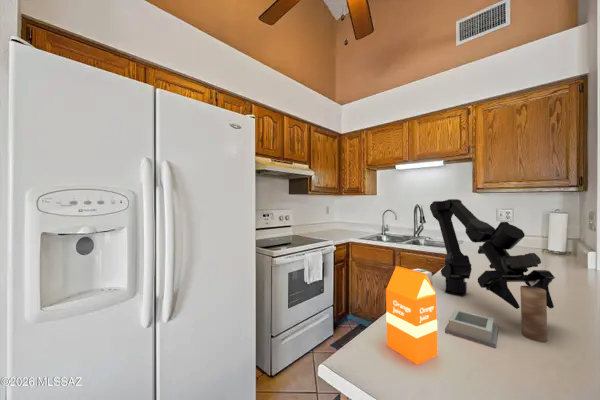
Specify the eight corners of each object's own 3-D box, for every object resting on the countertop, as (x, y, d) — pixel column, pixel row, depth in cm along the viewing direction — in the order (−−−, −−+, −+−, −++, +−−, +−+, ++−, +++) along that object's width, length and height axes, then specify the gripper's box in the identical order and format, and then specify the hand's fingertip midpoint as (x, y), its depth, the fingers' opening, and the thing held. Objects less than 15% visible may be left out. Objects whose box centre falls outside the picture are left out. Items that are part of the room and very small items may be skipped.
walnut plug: (521, 337, 64) (520, 289, 64) (521, 330, 68) (520, 284, 68) (548, 344, 61) (547, 293, 61) (546, 336, 64) (545, 288, 65)
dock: (445, 332, 67) (444, 320, 67) (452, 318, 75) (452, 307, 75) (495, 348, 59) (495, 334, 59) (497, 330, 68) (497, 318, 68)
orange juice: (417, 365, 53) (415, 276, 54) (386, 344, 61) (385, 267, 62) (438, 354, 57) (436, 271, 57) (406, 336, 65) (405, 263, 65)
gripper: (483, 243, 70) (519, 295, 58) (546, 242, 70) (594, 294, 58) (465, 263, 77) (494, 312, 66) (522, 263, 77) (561, 312, 66)
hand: (535, 308), depth 64 cm, fingers open, 9 cm apart
